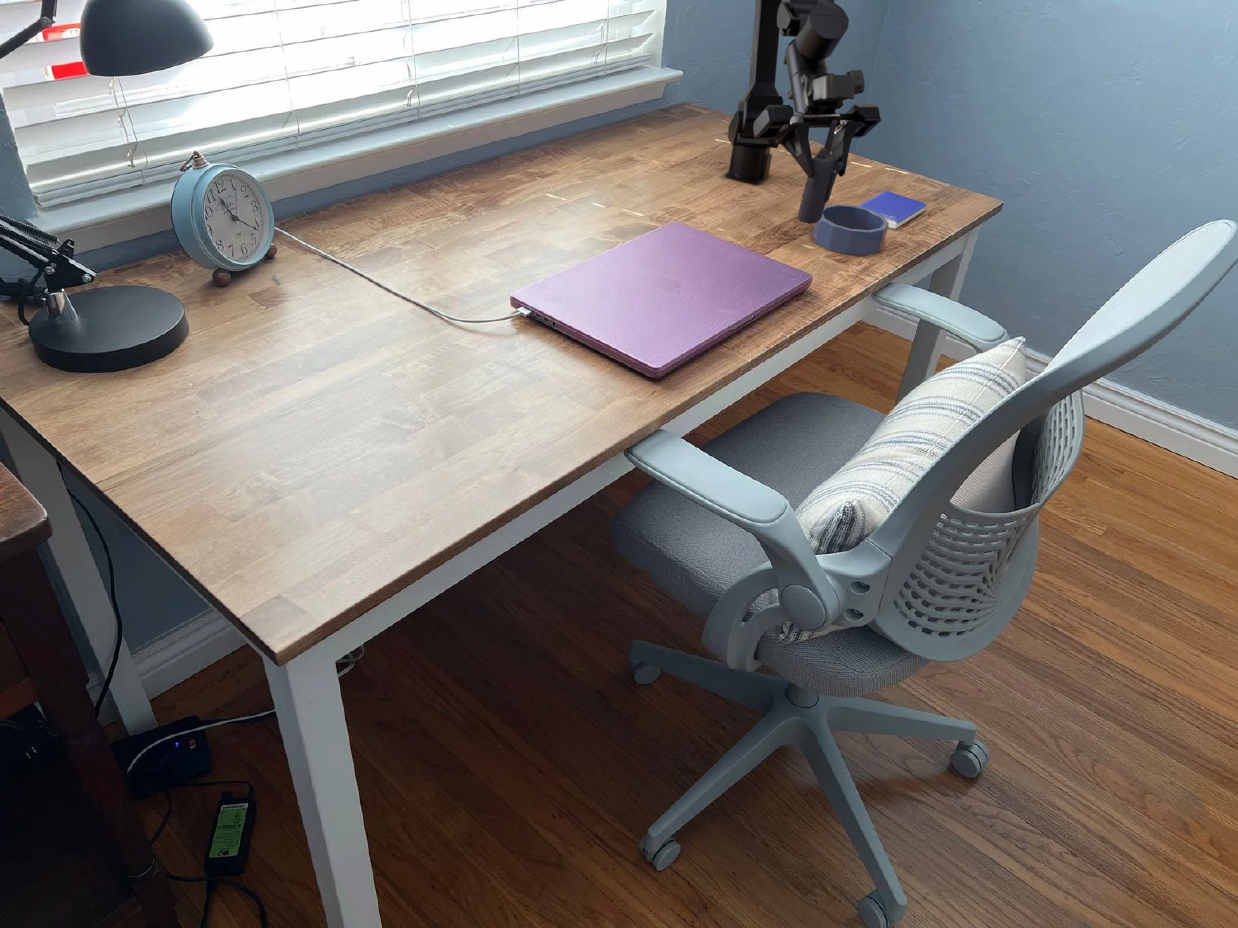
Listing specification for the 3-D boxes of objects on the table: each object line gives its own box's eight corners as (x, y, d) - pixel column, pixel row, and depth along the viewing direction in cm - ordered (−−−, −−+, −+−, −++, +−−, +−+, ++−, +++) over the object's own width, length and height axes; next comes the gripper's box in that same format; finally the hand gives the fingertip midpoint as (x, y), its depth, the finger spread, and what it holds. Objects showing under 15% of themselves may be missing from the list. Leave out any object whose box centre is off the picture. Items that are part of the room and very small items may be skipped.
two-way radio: (803, 211, 150) (829, 115, 141) (830, 219, 148) (857, 122, 139) (793, 221, 145) (818, 123, 136) (821, 230, 144) (848, 131, 135)
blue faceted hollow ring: (804, 243, 154) (809, 219, 151) (825, 221, 162) (830, 199, 159) (871, 261, 150) (877, 237, 147) (889, 238, 158) (895, 215, 156)
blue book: (898, 221, 161) (927, 203, 169) (854, 206, 164) (885, 190, 172) (895, 230, 161) (924, 211, 170) (852, 215, 165) (883, 198, 173)
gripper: (776, 46, 132) (795, 153, 131) (892, 48, 138) (911, 150, 136) (744, 87, 143) (761, 186, 141) (853, 87, 148) (870, 183, 147)
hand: (826, 176), depth 141 cm, fingers closed on two-way radio, 5 cm apart
